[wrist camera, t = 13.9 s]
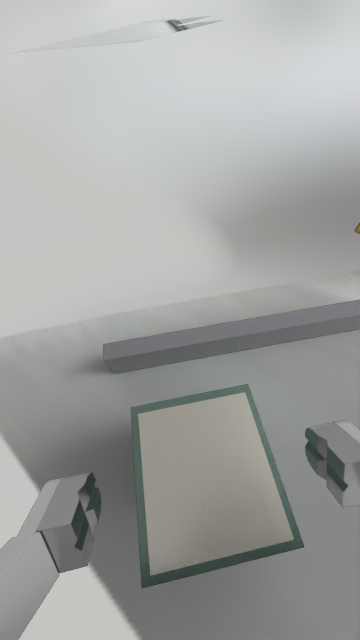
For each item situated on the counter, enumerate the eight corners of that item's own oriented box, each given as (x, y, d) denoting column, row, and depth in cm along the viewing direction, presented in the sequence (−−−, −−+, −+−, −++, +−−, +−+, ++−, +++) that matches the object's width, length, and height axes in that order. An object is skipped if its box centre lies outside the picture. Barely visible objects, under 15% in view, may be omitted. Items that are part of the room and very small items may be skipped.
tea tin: (216, 413, 15) (249, 376, 7) (235, 485, 13) (312, 554, 5) (161, 424, 15) (127, 400, 7) (170, 500, 13) (137, 599, 5)
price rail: (364, 312, 19) (393, 291, 16) (374, 326, 18) (406, 306, 15) (116, 356, 17) (103, 341, 15) (116, 373, 17) (103, 360, 14)
